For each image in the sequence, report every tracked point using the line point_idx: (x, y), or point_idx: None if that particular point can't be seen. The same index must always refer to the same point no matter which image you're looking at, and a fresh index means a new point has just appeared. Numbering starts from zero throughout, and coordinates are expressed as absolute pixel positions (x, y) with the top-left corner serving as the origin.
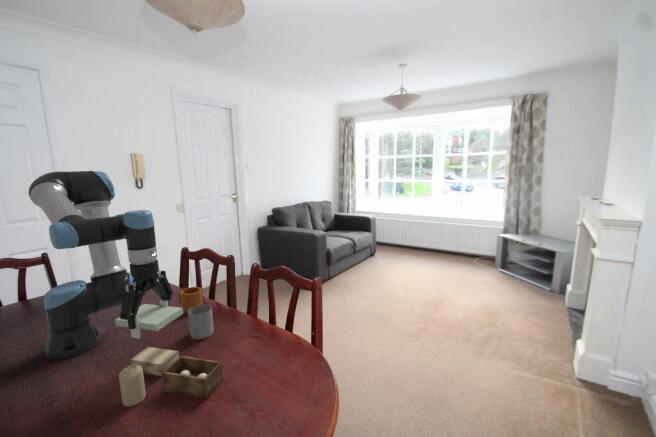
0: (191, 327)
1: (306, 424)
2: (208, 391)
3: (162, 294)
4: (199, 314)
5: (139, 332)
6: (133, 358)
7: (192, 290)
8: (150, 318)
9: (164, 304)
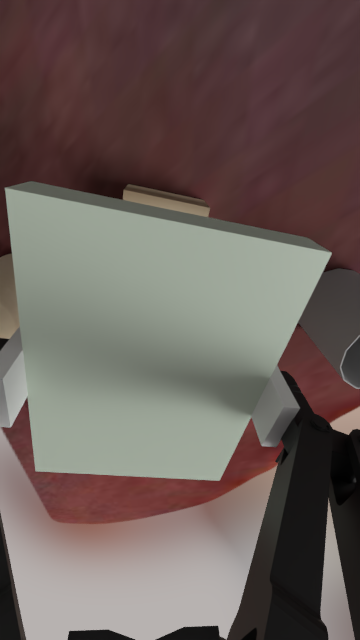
0: (324, 304)
1: (57, 510)
2: None
3: (270, 501)
4: (339, 368)
5: None
6: (131, 198)
7: None
8: (88, 419)
9: (260, 413)
